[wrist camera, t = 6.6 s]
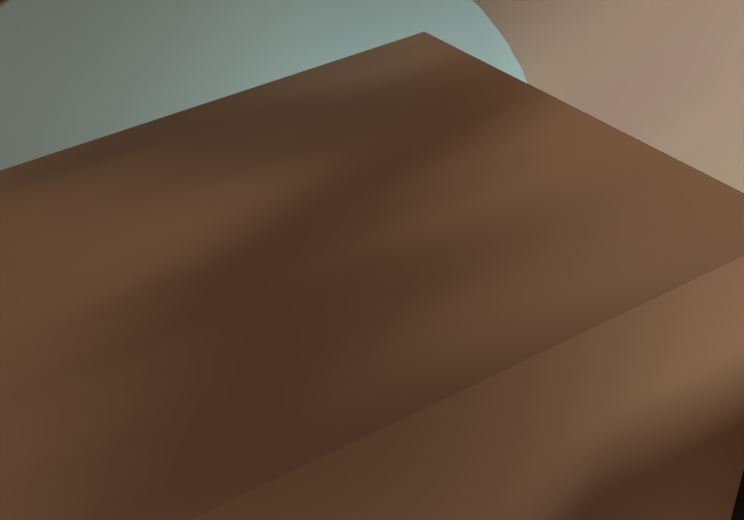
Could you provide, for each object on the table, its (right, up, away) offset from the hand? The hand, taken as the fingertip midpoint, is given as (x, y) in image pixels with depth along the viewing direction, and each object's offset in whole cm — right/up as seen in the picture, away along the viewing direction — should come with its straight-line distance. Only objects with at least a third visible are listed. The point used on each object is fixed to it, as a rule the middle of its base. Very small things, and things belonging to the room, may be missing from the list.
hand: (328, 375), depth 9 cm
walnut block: (-1, +1, +2) cm, 3 cm away
